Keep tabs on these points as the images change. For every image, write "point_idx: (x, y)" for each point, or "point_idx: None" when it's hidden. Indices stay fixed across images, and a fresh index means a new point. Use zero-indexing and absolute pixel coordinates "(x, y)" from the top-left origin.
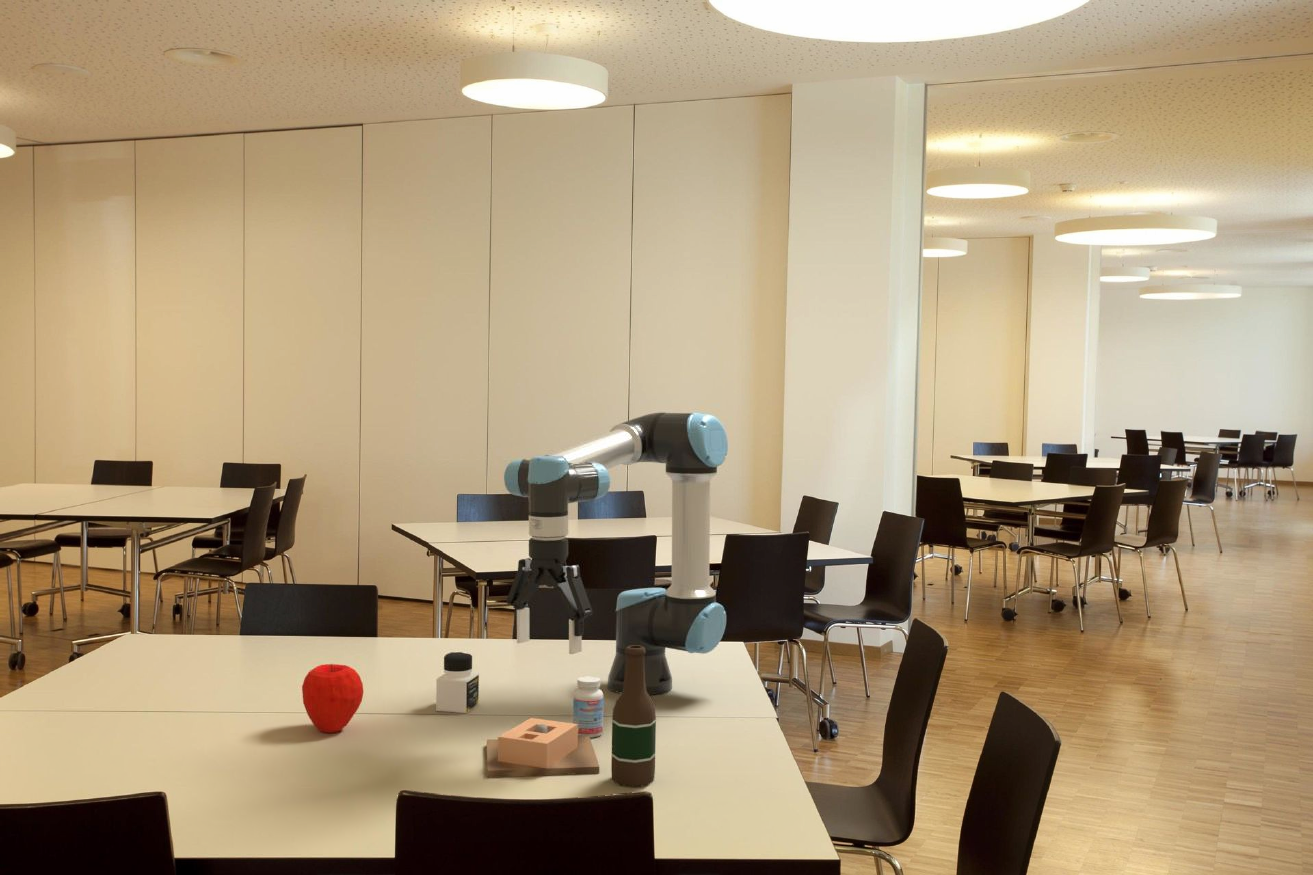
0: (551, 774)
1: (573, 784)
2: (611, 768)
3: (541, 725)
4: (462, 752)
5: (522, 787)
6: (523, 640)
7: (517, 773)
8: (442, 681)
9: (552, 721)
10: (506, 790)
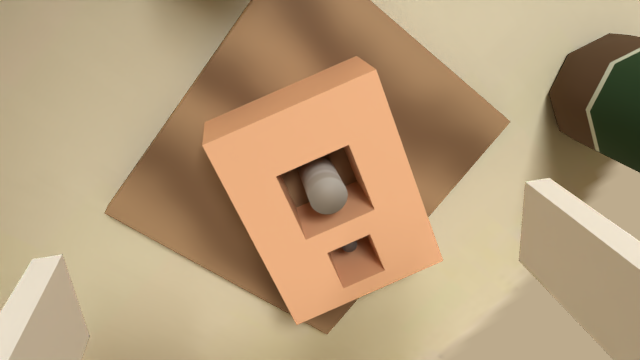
0: None
1: (501, 211)
2: (574, 139)
3: (322, 192)
4: (121, 282)
5: (428, 301)
6: (76, 313)
7: None
8: None
9: (288, 115)
10: (415, 332)
